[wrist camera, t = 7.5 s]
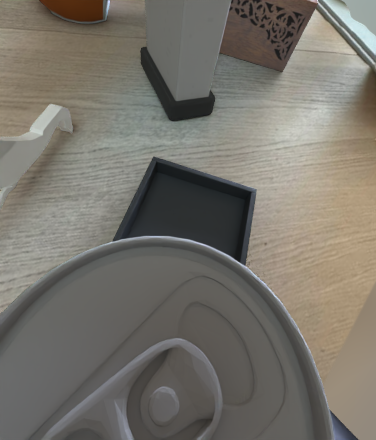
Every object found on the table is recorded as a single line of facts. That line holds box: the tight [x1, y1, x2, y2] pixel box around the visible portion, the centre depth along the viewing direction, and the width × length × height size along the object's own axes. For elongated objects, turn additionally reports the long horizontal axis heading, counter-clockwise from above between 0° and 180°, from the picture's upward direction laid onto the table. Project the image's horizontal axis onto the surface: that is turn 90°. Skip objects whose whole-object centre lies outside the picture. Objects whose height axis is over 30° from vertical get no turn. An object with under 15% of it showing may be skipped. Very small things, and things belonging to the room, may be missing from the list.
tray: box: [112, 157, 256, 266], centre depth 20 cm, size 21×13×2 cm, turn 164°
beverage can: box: [0, 236, 335, 440], centre depth 8 cm, size 6×6×12 cm
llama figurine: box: [0, 104, 73, 210], centre depth 21 cm, size 2×11×18 cm
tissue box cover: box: [219, 0, 318, 72], centre depth 39 cm, size 26×14×10 cm, turn 76°
